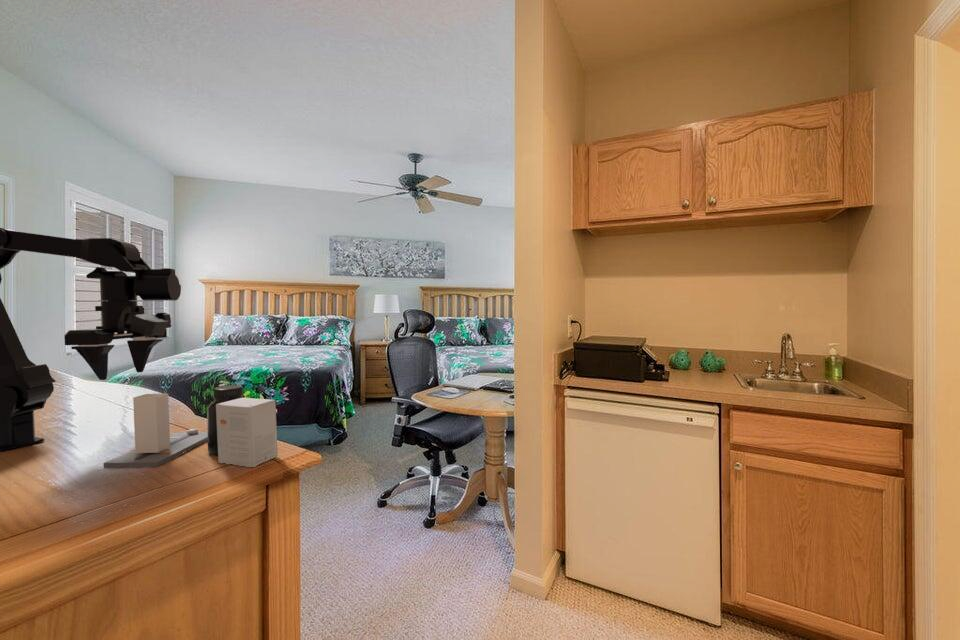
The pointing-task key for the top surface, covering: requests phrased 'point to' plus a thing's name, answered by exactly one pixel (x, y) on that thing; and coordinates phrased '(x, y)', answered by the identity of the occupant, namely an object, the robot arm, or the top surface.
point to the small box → (246, 431)
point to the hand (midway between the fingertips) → (122, 375)
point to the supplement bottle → (220, 396)
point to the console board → (177, 446)
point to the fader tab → (151, 423)
